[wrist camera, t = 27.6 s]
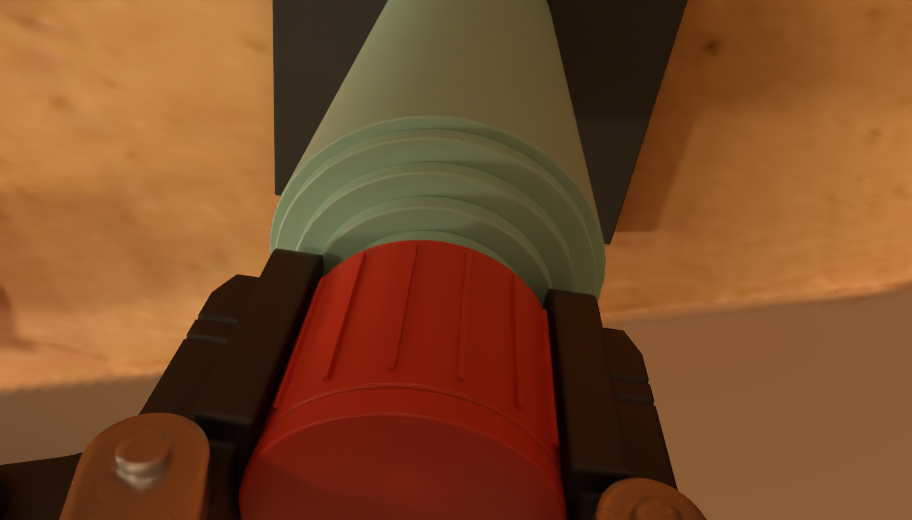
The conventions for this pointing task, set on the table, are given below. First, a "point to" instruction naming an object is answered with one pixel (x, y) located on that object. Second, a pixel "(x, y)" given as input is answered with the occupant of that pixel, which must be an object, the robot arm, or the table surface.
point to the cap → (413, 397)
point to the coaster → (582, 53)
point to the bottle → (452, 147)
